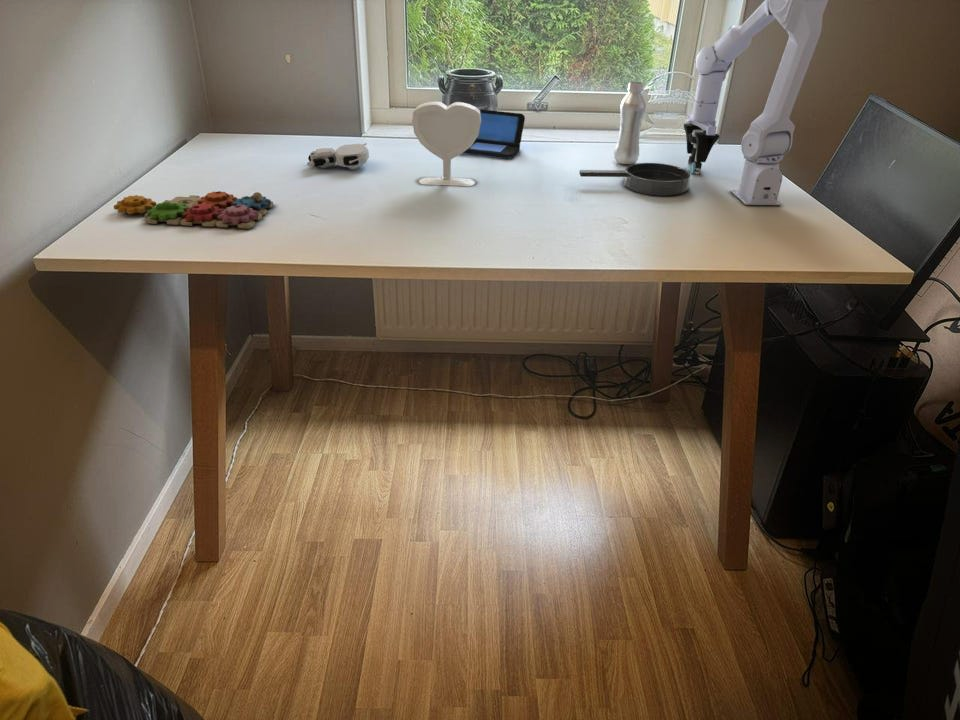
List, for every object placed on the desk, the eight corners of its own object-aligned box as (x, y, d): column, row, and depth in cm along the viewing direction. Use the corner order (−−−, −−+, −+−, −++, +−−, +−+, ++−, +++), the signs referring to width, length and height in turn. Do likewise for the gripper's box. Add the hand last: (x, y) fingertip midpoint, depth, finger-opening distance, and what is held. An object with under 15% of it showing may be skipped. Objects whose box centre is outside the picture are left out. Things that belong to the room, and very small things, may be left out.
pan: (695, 196, 160) (698, 181, 158) (631, 196, 159) (633, 181, 157) (677, 177, 172) (679, 163, 170) (617, 176, 172) (619, 162, 170)
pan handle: (626, 177, 163) (627, 172, 163) (580, 176, 163) (581, 172, 162) (624, 174, 165) (625, 170, 164) (579, 174, 164) (579, 169, 164)
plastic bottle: (636, 160, 184) (647, 80, 174) (639, 167, 178) (650, 86, 168) (612, 159, 185) (621, 79, 174) (613, 166, 179) (624, 84, 168)
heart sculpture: (413, 184, 163) (411, 104, 153) (415, 177, 167) (413, 99, 158) (479, 186, 163) (480, 106, 153) (479, 179, 167) (481, 102, 157)
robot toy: (307, 177, 168) (369, 172, 169) (304, 158, 166) (366, 153, 167) (312, 162, 178) (370, 157, 179) (309, 145, 176) (368, 140, 177)
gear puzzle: (99, 222, 138) (93, 202, 136) (140, 196, 151) (135, 178, 149) (251, 230, 136) (248, 210, 134) (278, 203, 149) (276, 185, 147)
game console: (455, 154, 186) (455, 118, 181) (470, 142, 196) (471, 108, 192) (511, 160, 182) (513, 123, 177) (523, 147, 193) (525, 113, 188)
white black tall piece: (707, 176, 174) (715, 135, 168) (686, 175, 173) (693, 135, 168) (700, 168, 179) (707, 128, 174) (679, 168, 179) (686, 128, 174)
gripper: (681, 94, 173) (672, 149, 180) (699, 107, 161) (689, 165, 168) (709, 95, 174) (698, 149, 181) (729, 107, 161) (717, 165, 168)
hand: (696, 157), depth 174 cm, fingers open, 7 cm apart
